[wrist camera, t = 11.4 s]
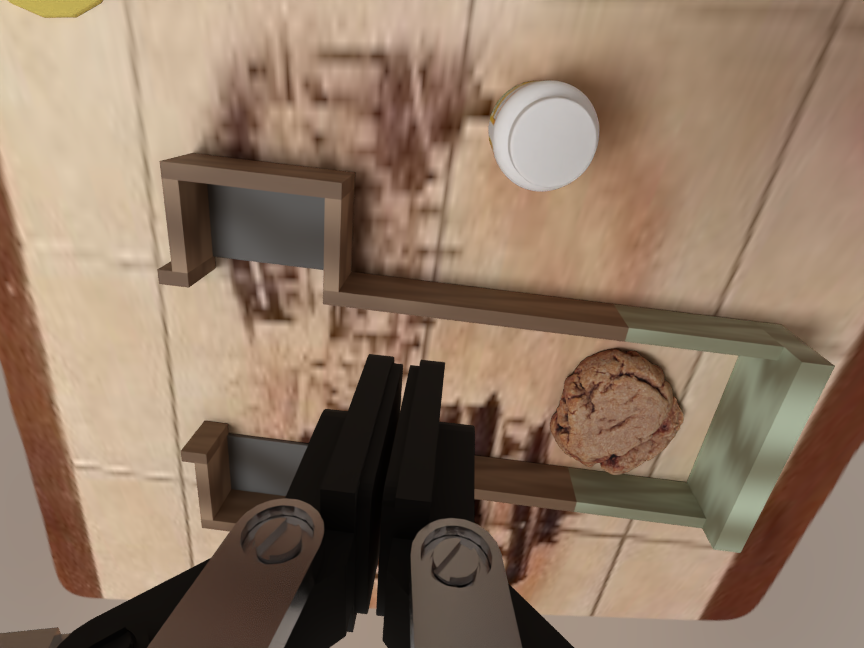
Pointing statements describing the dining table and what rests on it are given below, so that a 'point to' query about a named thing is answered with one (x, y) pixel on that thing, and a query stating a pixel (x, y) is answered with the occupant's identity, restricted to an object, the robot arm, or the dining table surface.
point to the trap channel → (494, 478)
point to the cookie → (616, 412)
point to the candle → (56, 7)
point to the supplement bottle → (543, 134)
